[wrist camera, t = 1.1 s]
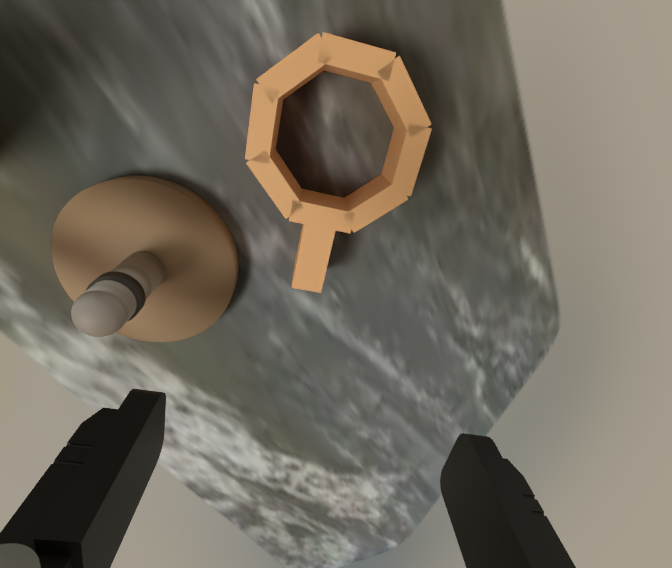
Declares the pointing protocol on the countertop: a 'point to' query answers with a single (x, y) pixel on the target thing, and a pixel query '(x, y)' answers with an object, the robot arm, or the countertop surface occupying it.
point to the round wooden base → (144, 259)
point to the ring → (372, 198)
